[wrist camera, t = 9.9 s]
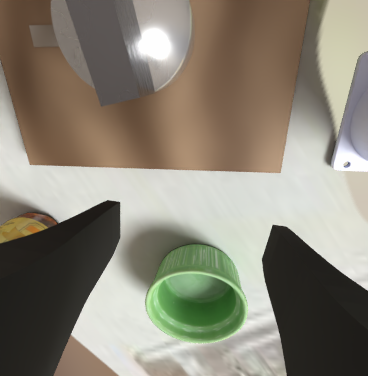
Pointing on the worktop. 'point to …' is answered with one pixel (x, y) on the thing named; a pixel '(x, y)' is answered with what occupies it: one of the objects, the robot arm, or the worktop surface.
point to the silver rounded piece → (125, 44)
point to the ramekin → (197, 295)
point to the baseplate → (163, 93)
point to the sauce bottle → (24, 226)
